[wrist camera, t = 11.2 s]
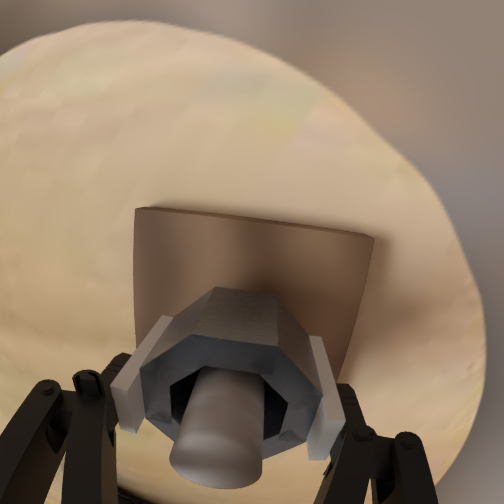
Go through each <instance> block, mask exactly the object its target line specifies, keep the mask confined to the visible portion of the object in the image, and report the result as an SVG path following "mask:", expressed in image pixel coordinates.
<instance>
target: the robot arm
mask: <svg viewBox="0 0 504 504" xmlns="http://www.w3.org/2000/svg"><path fill="white" fill-rule="evenodd" d="M172 319H173V317H170V316H165V315H162V316H161V317H160V319H159V320H158V321H157V323H156V324H155V325H154V327H153V328H152V329H151V331H150V332H149V333H148V335H147V336H146V337H145V339H144V340H143V341H142V343H141V344H140V345H139V347H138V348H137V349H136V351H135V352H134V353H133V355H130V354H126V353H121V354H119V355H117V356H115V357H114V358H113V359H112V361H111V362H110V364H108V366H107V367H106V369H104V371H103V372H102V373H101V374H99V373H98V372H96V371H93V370H82V371H79V372H77V373H76V374H74V376H73V378H72V379H73V383H74V387H75V390H76V391H67V390H61V387H60V385H59V383H58V382H56V381H54V380H49V379H47V380H42V381H40V382H38V383H37V384H36V385H35V387H34V388H33V389H32V391H31V392H30V393H29V395H28V396H27V397H26V399H25V400H24V402H23V403H22V404H21V406H20V407H19V409H18V410H17V412H16V413H15V414H14V416H13V417H12V419H11V420H10V422H9V423H8V425H7V426H6V428H5V429H4V431H3V432H2V434H1V435H0V504H44V502H45V499H46V497H47V494H48V491H49V489H50V486H51V484H52V482H53V479H54V477H55V474H56V472H57V470H58V467H59V465H60V463H61V460H62V458H63V456H64V454H65V451H66V455H65V463H64V473H63V484H62V500H61V504H134V503H132V502H130V501H128V500H126V499H124V498H122V497H120V496H118V492H117V472H116V431H115V426H116V425H117V423H118V422H119V426H120V429H122V430H125V431H128V432H131V433H134V434H136V433H137V431H138V429H139V427H140V425H141V423H142V421H143V419H144V417H145V409H144V402H143V395H142V387H141V378H140V371H139V368H140V366H141V365H142V363H143V362H144V360H145V359H146V357H147V356H148V354H149V353H150V351H151V350H152V348H153V347H154V345H155V344H156V342H157V341H158V339H159V338H160V336H161V335H162V333H163V332H164V330H165V329H166V328H167V326H168V325H169V323H170V322H171V320H172ZM309 338H310V342H311V346H312V350H313V354H314V358H315V362H316V366H317V370H318V375H319V379H320V383H321V387H322V392H323V397H322V399H321V401H320V404H319V407H318V410H317V413H316V415H315V418H314V421H313V423H312V426H311V429H310V431H309V434H308V436H307V447H308V456H309V460H326V459H327V457H328V455H329V454H330V457H331V462H330V463H329V465H328V467H327V469H326V470H325V472H324V474H323V475H325V476H324V478H323V481H322V484H321V486H320V489H319V491H318V494H317V496H316V499H315V501H314V504H364V500H365V496H366V492H367V488H368V483H369V479H370V478H371V489H372V502H373V504H438V499H437V495H436V492H435V487H434V483H433V479H432V475H431V472H430V468H429V464H428V461H427V457H426V454H425V451H424V447H423V444H422V441H421V439H420V437H418V436H417V435H416V434H414V433H412V432H406V431H405V432H400V433H399V434H397V435H396V437H395V439H394V438H388V437H382V436H378V435H377V434H376V432H375V431H374V429H372V428H371V427H370V426H367V425H366V423H365V420H364V417H363V414H362V411H361V408H360V405H359V402H358V400H357V397H356V394H355V391H354V390H353V389H352V388H351V386H350V385H349V384H337V383H335V380H334V377H333V374H332V370H331V367H330V364H329V360H328V357H327V354H326V350H325V347H324V344H323V341H322V338H321V337H319V336H309Z"/></svg>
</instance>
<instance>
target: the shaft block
mask: <svg viewBox="0 0 504 504" xmlns="http://www.w3.org/2000/svg"><path fill="white" fill-rule="evenodd" d="M373 244H374V238H372V237H370V236H368V235H366V234H360V233H354V232H347V231H341V230H334V229H327V228H320V227H314V226H306V225H299V224H292V223H285V222H277V221H270V220H262V219H254V218H246V217H238V216H229V215H221V214H212V213H203V212H194V211H184V210H174V209H164V208H154V207H141V208H137V209H135V220H134V249H133V288H134V317H135V334H136V347H137V348H138V347H139V345H140V344H141V343H142V341H143V340H144V339H145V337H146V336H147V335H148V333H149V332H150V331H151V329H152V328H153V327H154V325H155V324H156V323H157V321H158V320H159V319H160V317H161V316H162V315H165V316H170V317H174V316H176V315H177V314H178V313H180V312H181V311H183V310H184V309H185V308H187V307H188V306H189V305H191V304H192V303H193V302H195V301H196V300H197V299H199V298H200V297H201V296H203V295H204V294H205V293H207V292H208V291H210V290H211V289H212V288H214V287H215V286H217V287H224V288H231V289H238V290H246V291H253V292H261V293H269V294H276V296H277V297H278V298H279V299H280V301H281V302H282V303H283V304H284V306H285V307H286V308H287V309H288V311H289V312H290V313H291V314H292V315H293V317H294V318H295V319H296V320H297V322H298V323H299V324H300V325H301V327H302V328H303V329H304V330H305V331H306V333H307V334H308V335H309V336H319V337H321V338H322V341H323V344H324V347H325V350H326V354H327V357H328V360H329V364H330V367H331V370H332V374H333V377H334V380H335V383H336V382H337V379H338V376H339V373H340V370H341V367H342V364H343V361H344V358H345V355H346V352H347V349H348V345H349V342H350V339H351V335H352V332H353V328H354V325H355V321H356V318H357V314H358V310H359V306H360V302H361V298H362V294H363V290H364V286H365V282H366V277H367V273H368V268H369V264H370V259H371V254H372V249H373ZM264 396H265V380H264V379H263V378H262V377H261V376H260V375H259V374H258V373H251V372H243V371H236V370H229V369H222V368H216V367H210V366H203V367H201V368H200V371H199V374H198V376H197V379H196V382H195V385H194V388H193V390H192V393H191V396H190V399H189V402H188V405H187V408H186V410H185V413H184V416H183V419H182V422H181V425H180V427H179V430H178V433H177V436H176V439H175V442H174V445H173V448H172V451H171V453H170V457H169V460H170V463H171V465H172V467H173V468H174V470H175V471H176V472H177V473H179V474H180V475H181V476H183V477H184V478H186V479H187V480H189V481H191V482H194V483H196V484H199V485H202V486H206V487H210V488H216V489H237V488H242V487H246V486H249V485H251V484H253V483H255V482H256V481H257V480H258V479H259V478H260V477H261V474H262V457H263V429H264Z"/></svg>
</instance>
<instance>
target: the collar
mask: <svg viewBox="0 0 504 504" xmlns="http://www.w3.org/2000/svg"><path fill="white" fill-rule="evenodd" d="M203 366H210V367H216V368H222V369H229V370H236V371H243V372H251V373H258V374H259V375H260V376H261V377H262V378H263V379H264V380H265V396H264V429H263V457H262V460H263V459H266V458H268V457H271V456H273V455H276V454H279V453H281V452H283V451H286V450H288V449H291V448H293V447H295V446H298V445H300V444H302V443H304V442H306V440H307V436H308V434H309V431H310V429H311V426H312V423H313V421H314V418H315V415H316V413H317V410H318V407H319V404H320V401H321V399H322V397H323V392H322V387H321V383H320V379H319V375H318V370H317V366H316V362H315V358H314V354H313V350H312V346H311V342H310V338H309V335H308V334H307V333H306V331H305V330H304V329H303V328H302V327H301V325H300V324H299V323H298V322H297V320H296V319H295V318H294V317H293V315H292V314H291V313H290V312H289V311H288V309H287V308H286V307H285V306H284V304H283V303H282V302H281V301H280V299H279V298H278V297H277V296H276V294H269V293H261V292H253V291H246V290H238V289H231V288H224V287H217V286H215V287H214V288H212V289H211V290H210V291H208V292H207V293H205V294H204V295H203V296H201V297H200V298H199V299H197V300H196V301H195V302H193V303H192V304H191V305H189V306H188V307H187V308H185V309H184V310H183V311H181V312H180V313H178V314H177V315H176V316H174V317H173V319H172V320H171V322H170V323H169V325H168V326H167V328H166V329H165V330H164V332H163V333H162V335H161V336H160V338H159V339H158V341H157V342H156V344H155V345H154V347H153V348H152V350H151V351H150V353H149V354H148V356H147V357H146V359H145V360H144V362H143V363H142V365H141V366H140V368H139V371H140V378H141V387H142V395H143V402H144V409H145V418H146V419H147V420H148V421H149V422H151V423H152V424H153V425H154V426H155V427H157V428H158V429H159V430H160V431H161V432H163V433H164V434H165V435H166V436H168V437H169V438H170V439H172V440H173V441H174V442H175V439H176V436H177V433H178V430H179V427H180V425H181V422H182V419H183V416H184V413H185V410H186V408H187V405H188V402H189V399H190V396H191V393H192V390H193V388H194V385H195V382H196V379H197V376H198V374H199V371H200V368H201V367H203Z"/></svg>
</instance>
